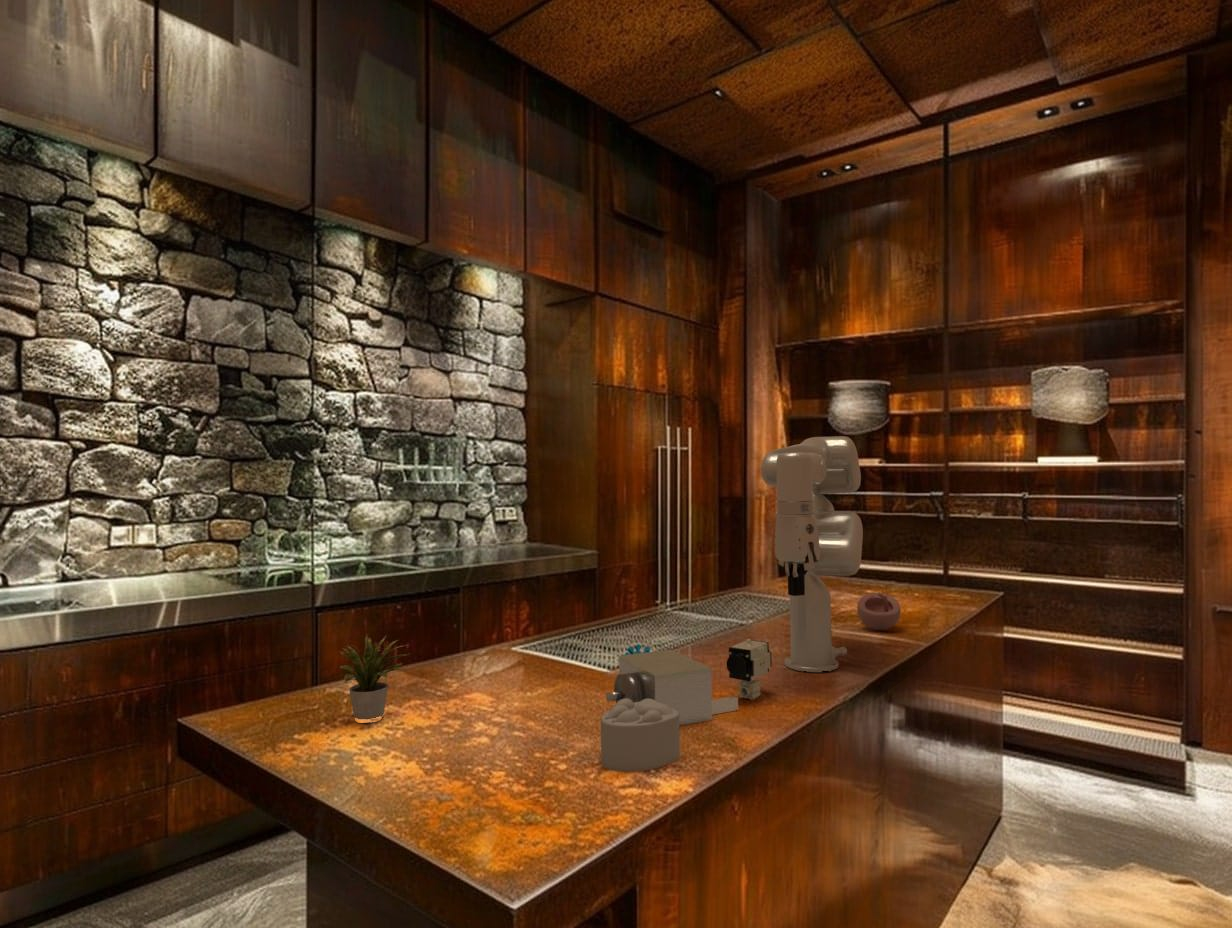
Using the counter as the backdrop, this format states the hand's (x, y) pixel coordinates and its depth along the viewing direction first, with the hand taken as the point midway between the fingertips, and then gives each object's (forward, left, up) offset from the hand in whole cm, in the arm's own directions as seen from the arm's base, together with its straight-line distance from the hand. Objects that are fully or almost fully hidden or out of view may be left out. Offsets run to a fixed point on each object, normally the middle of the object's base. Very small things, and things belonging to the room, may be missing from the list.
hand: (796, 594), depth 151 cm
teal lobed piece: (+26, -21, -21) cm, 39 cm away
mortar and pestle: (-59, -37, -21) cm, 73 cm away
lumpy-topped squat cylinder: (+47, +18, -21) cm, 54 cm away
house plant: (+86, -20, -21) cm, 91 cm away
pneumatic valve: (+12, 0, -21) cm, 24 cm away
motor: (+32, 0, -20) cm, 38 cm away
